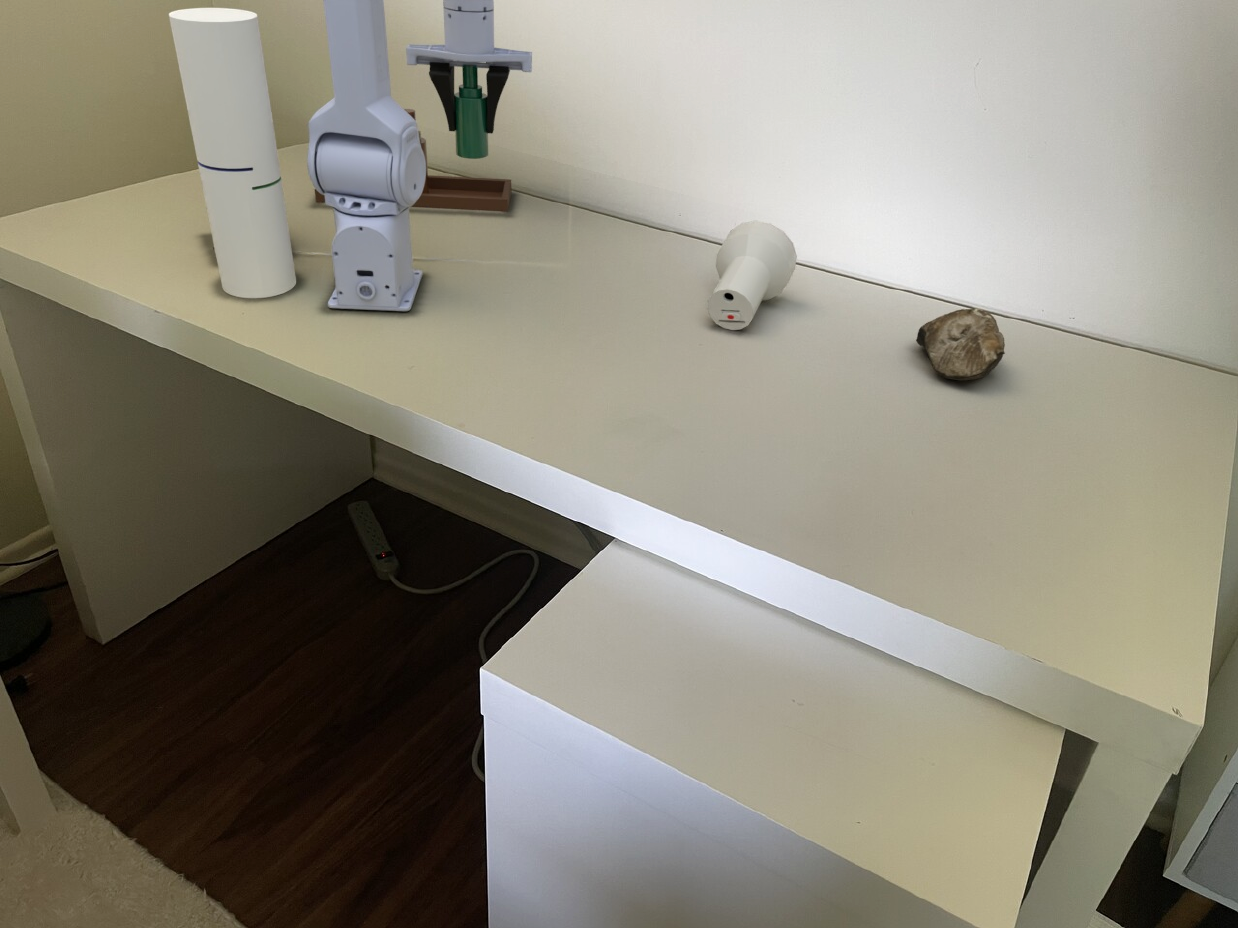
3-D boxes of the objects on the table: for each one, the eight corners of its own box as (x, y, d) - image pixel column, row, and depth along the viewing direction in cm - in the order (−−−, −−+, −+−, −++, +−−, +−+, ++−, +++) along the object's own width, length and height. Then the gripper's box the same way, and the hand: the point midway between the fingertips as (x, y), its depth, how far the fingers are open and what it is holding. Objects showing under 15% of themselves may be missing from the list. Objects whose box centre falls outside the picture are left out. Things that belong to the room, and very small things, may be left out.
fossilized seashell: (1018, 376, 82) (1005, 346, 90) (996, 308, 80) (985, 284, 89) (933, 403, 85) (929, 371, 93) (910, 338, 83) (908, 311, 92)
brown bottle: (426, 202, 115) (422, 115, 109) (394, 200, 115) (388, 113, 109) (431, 191, 119) (426, 107, 113) (399, 190, 118) (393, 105, 112)
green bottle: (487, 159, 112) (485, 68, 106) (454, 158, 112) (450, 66, 106) (489, 150, 115) (488, 61, 110) (457, 148, 115) (454, 59, 109)
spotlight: (800, 286, 98) (795, 218, 93) (772, 347, 91) (765, 277, 85) (728, 284, 101) (720, 217, 96) (696, 342, 94) (685, 274, 89)
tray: (507, 215, 115) (507, 199, 113) (316, 205, 113) (314, 190, 112) (511, 194, 121) (511, 179, 120) (330, 185, 120) (329, 170, 118)
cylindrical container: (218, 274, 94) (166, 8, 80) (290, 266, 97) (251, 8, 83) (226, 302, 89) (171, 22, 75) (301, 293, 92) (262, 22, 78)
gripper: (533, 7, 108) (532, 125, 116) (409, -1, 107) (416, 118, 115) (531, 16, 102) (530, 140, 110) (400, 8, 101) (408, 133, 109)
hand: (471, 130), depth 112 cm, fingers closed on green bottle, 4 cm apart
